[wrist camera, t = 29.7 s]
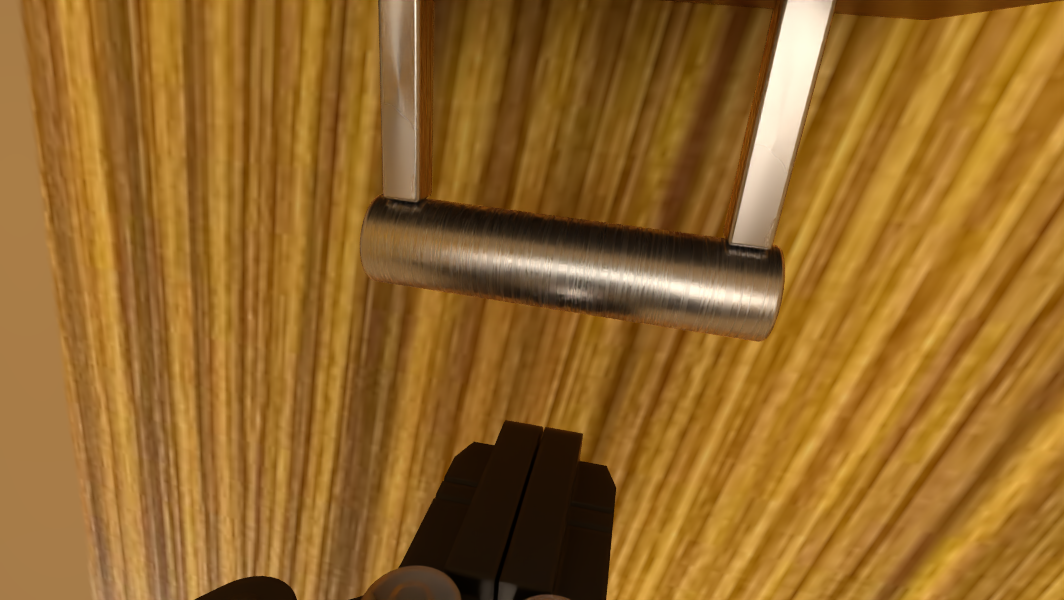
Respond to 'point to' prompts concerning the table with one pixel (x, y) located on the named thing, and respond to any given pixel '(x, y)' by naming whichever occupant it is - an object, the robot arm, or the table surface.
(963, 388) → the table surface
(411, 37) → the dark brown drawer
